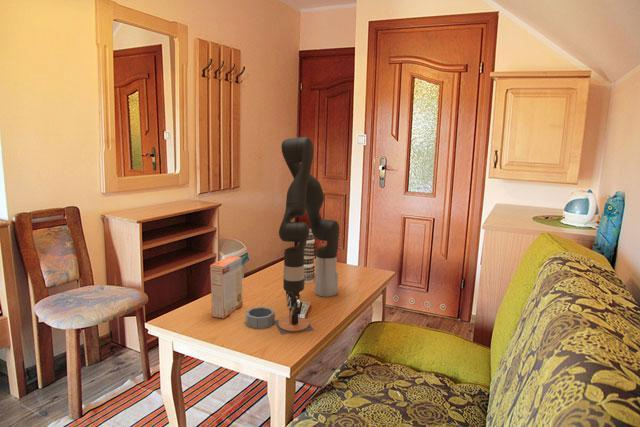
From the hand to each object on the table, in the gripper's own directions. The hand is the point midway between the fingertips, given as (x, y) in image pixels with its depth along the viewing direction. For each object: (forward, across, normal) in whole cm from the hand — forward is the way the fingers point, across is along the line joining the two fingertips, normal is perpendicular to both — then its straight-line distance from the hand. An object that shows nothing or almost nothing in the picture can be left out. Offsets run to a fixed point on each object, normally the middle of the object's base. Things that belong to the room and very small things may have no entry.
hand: (293, 321), depth 158 cm
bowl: (+2, +6, +11) cm, 13 cm away
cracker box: (+2, +21, +21) cm, 30 cm away
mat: (+2, 0, 0) cm, 2 cm away
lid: (+1, 0, 0) cm, 1 cm away
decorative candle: (+2, +49, -20) cm, 53 cm away
